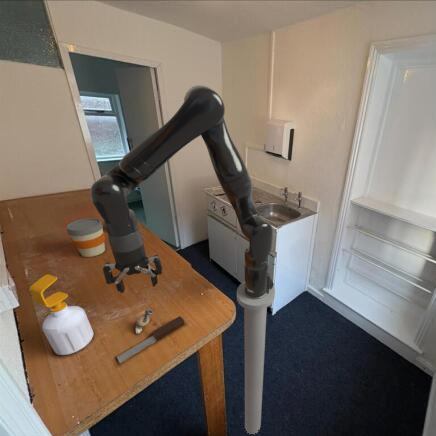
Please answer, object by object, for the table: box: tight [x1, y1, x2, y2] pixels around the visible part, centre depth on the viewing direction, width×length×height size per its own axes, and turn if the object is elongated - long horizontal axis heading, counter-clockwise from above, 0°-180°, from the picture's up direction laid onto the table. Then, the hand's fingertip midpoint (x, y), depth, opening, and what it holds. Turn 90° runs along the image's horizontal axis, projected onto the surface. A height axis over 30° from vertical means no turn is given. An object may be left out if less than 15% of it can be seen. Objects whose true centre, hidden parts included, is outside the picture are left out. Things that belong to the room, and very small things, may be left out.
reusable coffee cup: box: [66, 217, 106, 258], centre depth 109 cm, size 13×12×15 cm
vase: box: [135, 308, 154, 334], centre depth 77 cm, size 5×5×6 cm
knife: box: [116, 315, 185, 364], centre depth 73 cm, size 19×3×2 cm, turn 139°
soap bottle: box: [29, 273, 94, 356], centre depth 66 cm, size 9×9×25 cm
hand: (139, 287), depth 73 cm, fingers open, 8 cm apart
